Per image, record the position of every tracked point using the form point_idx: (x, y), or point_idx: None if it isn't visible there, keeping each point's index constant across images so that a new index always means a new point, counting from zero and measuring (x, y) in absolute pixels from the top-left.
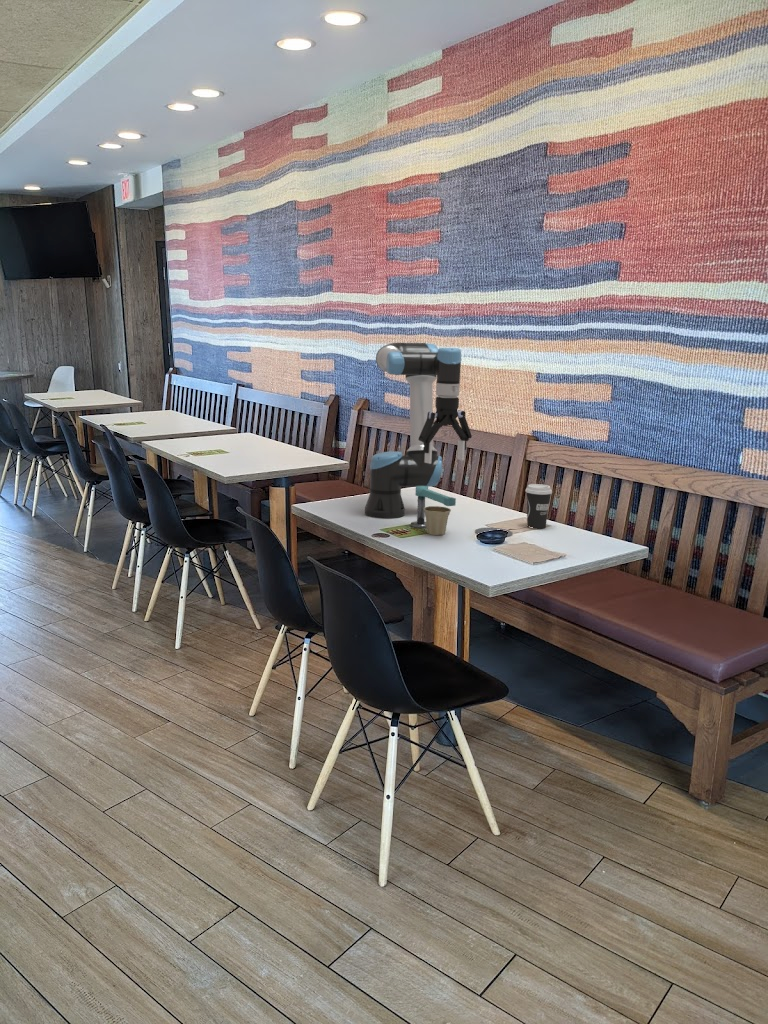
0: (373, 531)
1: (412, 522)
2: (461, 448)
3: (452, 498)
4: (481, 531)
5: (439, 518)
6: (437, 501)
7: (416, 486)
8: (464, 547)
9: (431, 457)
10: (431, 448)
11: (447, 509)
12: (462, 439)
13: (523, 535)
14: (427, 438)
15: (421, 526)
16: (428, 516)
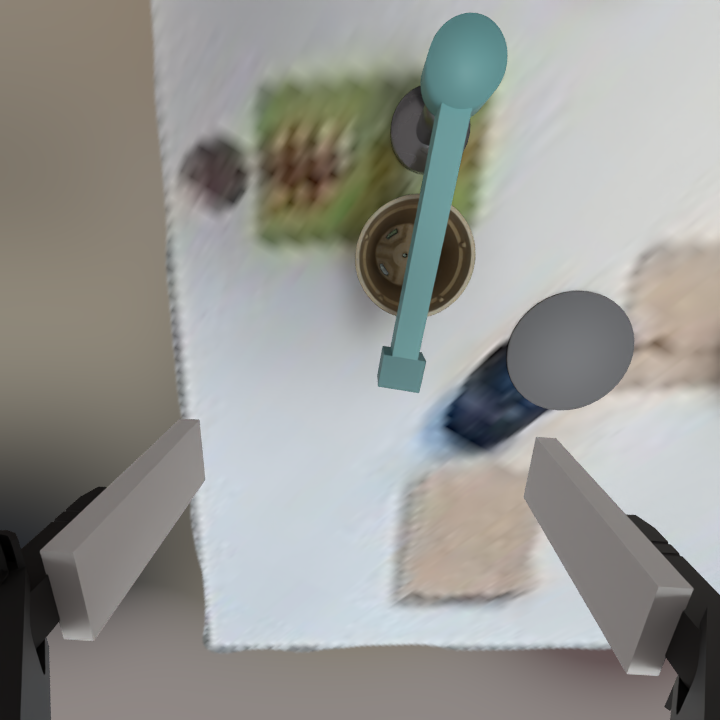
0: (220, 104)
1: (414, 94)
2: (577, 564)
3: (406, 385)
4: (542, 328)
5: (389, 298)
6: (404, 277)
7: (445, 29)
8: (363, 428)
9: (181, 512)
10: (126, 583)
11: (467, 264)
12: (683, 652)
13: (618, 419)
14: (4, 635)
15: (406, 166)
16: (365, 259)
